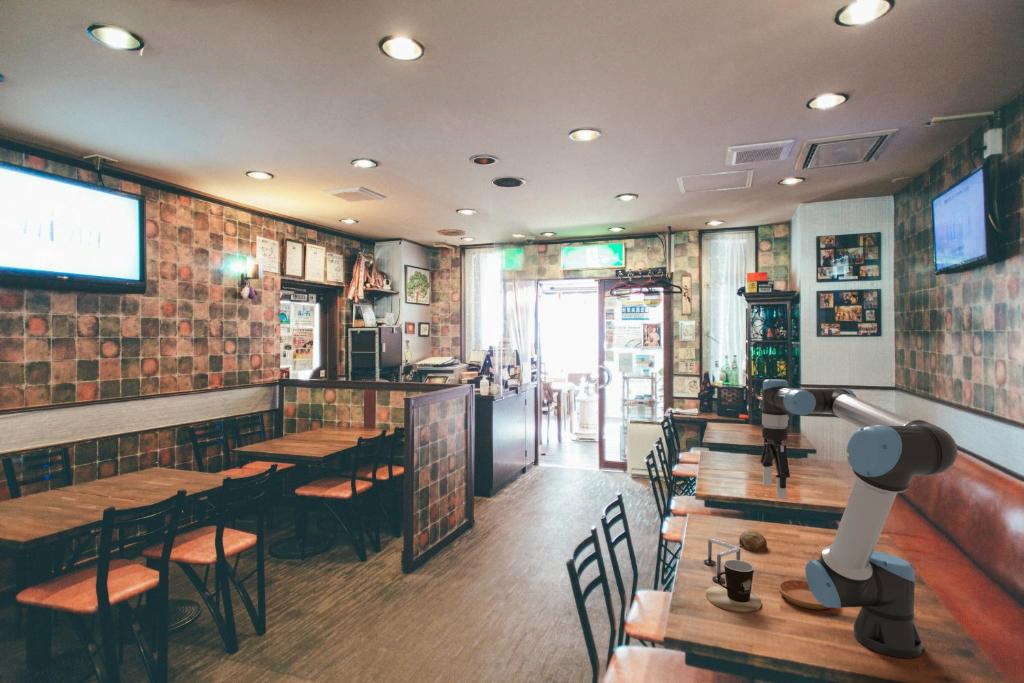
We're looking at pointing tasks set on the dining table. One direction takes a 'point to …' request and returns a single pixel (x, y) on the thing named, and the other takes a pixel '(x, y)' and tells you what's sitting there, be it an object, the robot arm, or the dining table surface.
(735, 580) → the coffee mug
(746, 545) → the bread roll
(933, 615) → the dining table surface
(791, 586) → the saucer
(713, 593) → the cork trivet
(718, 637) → the dining table surface
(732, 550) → the bent wire
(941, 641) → the dining table surface
